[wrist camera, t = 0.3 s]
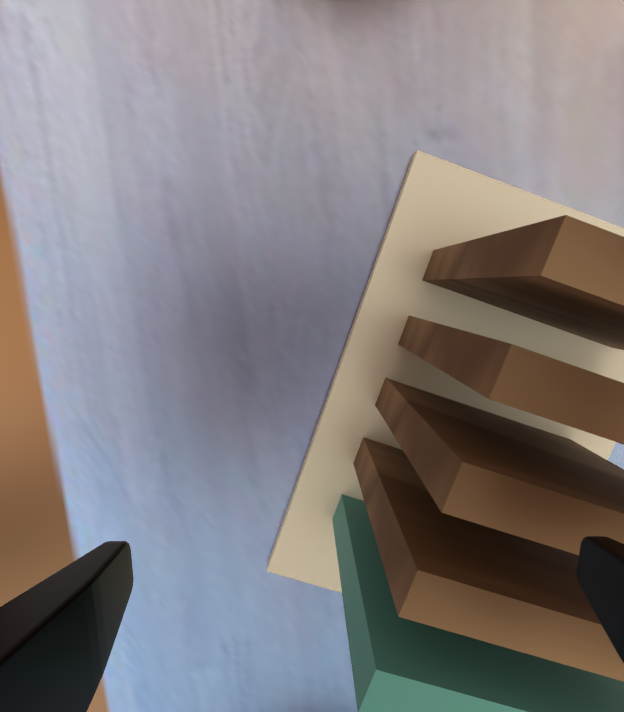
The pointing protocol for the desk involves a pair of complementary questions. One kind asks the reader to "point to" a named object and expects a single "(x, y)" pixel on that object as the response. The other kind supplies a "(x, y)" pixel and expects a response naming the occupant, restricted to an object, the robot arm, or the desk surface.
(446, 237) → the board
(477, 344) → the domino
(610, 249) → the domino
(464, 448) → the brown flat square block
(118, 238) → the desk surface
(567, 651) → the domino
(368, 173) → the desk surface
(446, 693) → the domino
